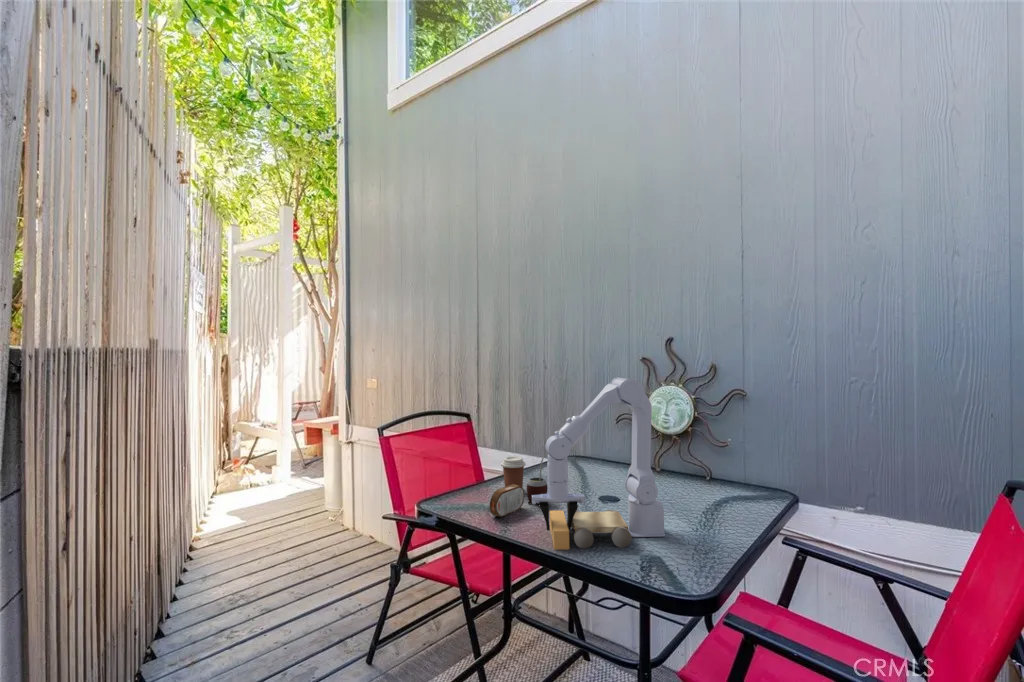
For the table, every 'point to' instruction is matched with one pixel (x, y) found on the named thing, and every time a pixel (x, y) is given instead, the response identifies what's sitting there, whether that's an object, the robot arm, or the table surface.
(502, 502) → the tin
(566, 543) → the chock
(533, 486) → the mate gourd
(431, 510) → the table surface
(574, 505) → the robot arm
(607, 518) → the trolley
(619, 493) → the table surface
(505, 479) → the coffee cup
